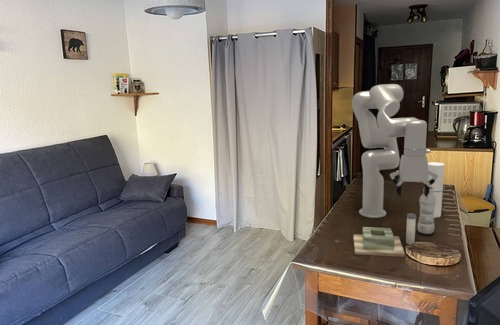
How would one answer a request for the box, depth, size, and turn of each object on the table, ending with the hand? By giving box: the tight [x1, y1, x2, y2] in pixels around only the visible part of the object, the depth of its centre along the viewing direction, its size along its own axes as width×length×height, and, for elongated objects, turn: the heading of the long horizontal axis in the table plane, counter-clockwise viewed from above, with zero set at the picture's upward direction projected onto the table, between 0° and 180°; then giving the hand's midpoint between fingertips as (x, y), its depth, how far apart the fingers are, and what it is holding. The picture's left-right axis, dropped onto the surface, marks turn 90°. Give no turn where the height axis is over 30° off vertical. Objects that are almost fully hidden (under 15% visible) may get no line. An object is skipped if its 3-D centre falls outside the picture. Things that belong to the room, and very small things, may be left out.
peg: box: [405, 212, 417, 245], centre depth 152 cm, size 3×3×12 cm
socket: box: [352, 226, 406, 258], centre depth 151 cm, size 16×18×6 cm
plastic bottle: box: [417, 187, 436, 235], centre depth 159 cm, size 6×7×20 cm
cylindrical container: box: [427, 161, 445, 219], centre depth 178 cm, size 7×7×25 cm
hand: (412, 195), depth 148 cm, fingers open, 9 cm apart
